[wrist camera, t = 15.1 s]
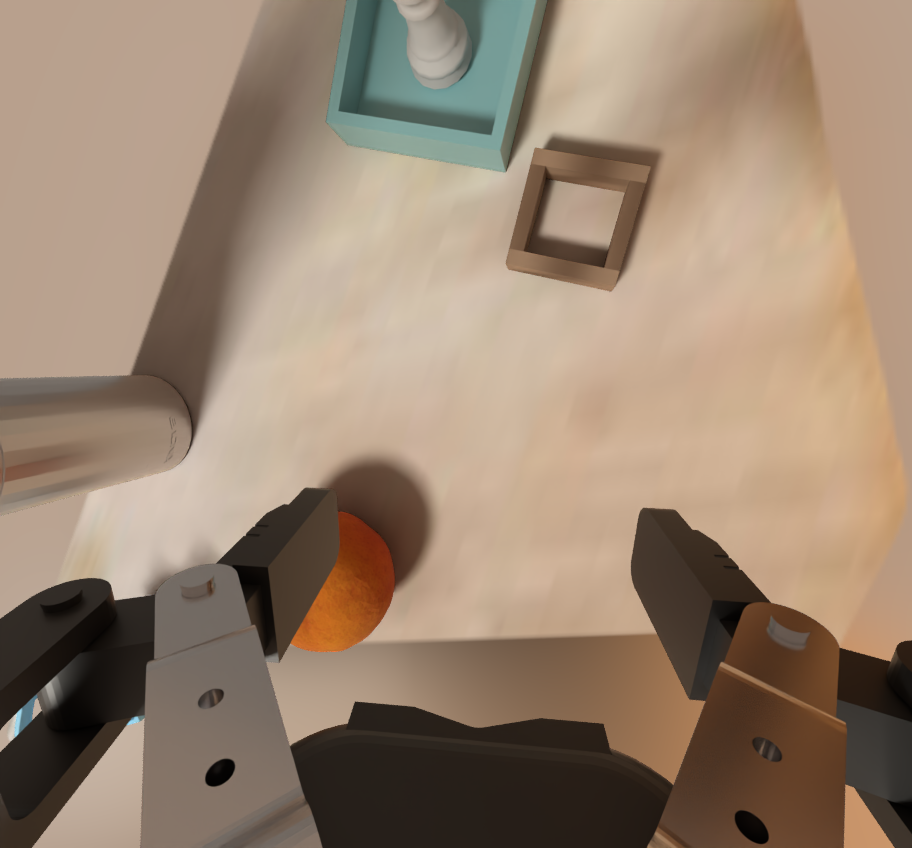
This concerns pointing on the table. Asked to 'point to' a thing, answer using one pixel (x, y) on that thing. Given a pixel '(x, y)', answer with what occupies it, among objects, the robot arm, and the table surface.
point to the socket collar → (583, 173)
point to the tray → (441, 110)
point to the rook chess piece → (435, 42)
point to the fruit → (350, 591)
